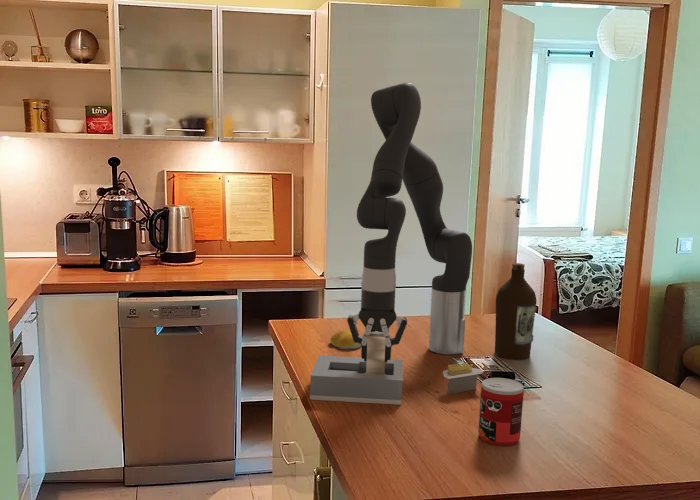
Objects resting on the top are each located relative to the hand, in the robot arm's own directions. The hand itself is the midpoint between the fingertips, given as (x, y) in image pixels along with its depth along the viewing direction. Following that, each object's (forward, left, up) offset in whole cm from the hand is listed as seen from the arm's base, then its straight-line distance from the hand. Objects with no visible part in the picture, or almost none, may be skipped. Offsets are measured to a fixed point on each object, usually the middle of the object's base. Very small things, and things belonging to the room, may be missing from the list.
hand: (375, 360), depth 153 cm
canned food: (-25, +21, -8) cm, 34 cm away
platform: (-20, -4, -8) cm, 21 cm away
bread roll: (+9, -34, -8) cm, 36 cm away
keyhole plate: (+4, 0, -7) cm, 8 cm away
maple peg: (0, 0, -6) cm, 6 cm away
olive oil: (-36, -33, -8) cm, 49 cm away
